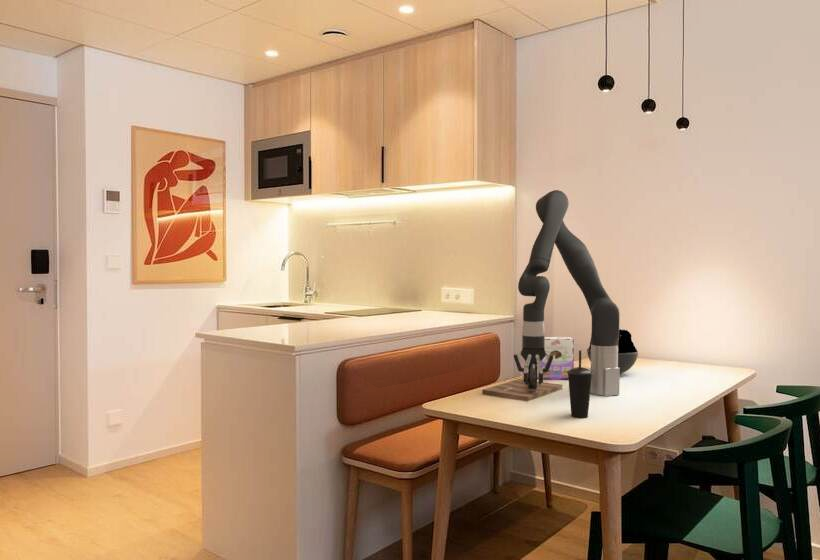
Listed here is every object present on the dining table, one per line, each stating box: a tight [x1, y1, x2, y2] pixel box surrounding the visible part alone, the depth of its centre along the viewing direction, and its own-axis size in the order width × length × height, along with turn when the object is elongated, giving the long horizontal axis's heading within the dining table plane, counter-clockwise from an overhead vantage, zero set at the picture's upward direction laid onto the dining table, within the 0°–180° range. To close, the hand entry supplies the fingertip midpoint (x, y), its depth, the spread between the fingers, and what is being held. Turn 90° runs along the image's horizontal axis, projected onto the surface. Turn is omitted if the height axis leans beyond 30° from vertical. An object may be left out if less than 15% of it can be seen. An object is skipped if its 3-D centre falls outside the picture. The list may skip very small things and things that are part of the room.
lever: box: [527, 363, 538, 392], centre depth 230 cm, size 22×4×10 cm, turn 171°
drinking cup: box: [567, 350, 593, 419], centre depth 194 cm, size 8×8×20 cm
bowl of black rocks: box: [586, 328, 639, 375], centre depth 263 cm, size 20×20×19 cm
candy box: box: [537, 336, 575, 381], centre depth 254 cm, size 14×6×16 cm, turn 84°
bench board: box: [481, 378, 563, 402], centre depth 230 cm, size 26×18×2 cm
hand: (533, 383), depth 220 cm, fingers open, 4 cm apart
